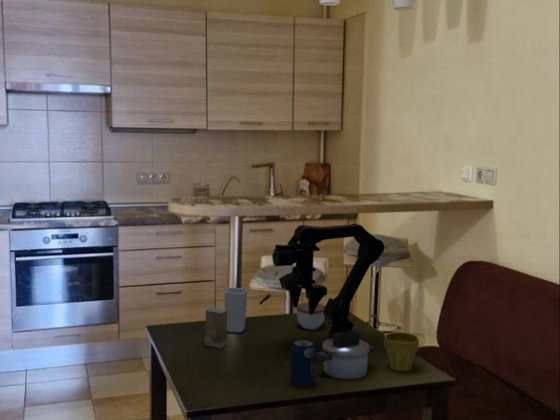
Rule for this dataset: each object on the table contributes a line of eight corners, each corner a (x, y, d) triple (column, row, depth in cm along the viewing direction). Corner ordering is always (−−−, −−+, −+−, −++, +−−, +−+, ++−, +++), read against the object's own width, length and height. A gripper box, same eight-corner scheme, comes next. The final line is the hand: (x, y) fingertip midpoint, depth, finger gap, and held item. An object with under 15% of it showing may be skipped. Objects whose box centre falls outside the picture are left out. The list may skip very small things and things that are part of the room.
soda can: (317, 386, 184) (318, 346, 183) (293, 388, 183) (294, 347, 181) (311, 377, 191) (312, 338, 190) (288, 378, 190) (289, 339, 188)
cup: (227, 327, 236) (228, 287, 234) (247, 328, 235) (247, 288, 233) (223, 333, 229) (223, 292, 227) (243, 334, 228) (244, 293, 226)
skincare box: (204, 345, 216) (204, 310, 214) (210, 341, 220) (210, 306, 218) (221, 348, 213) (221, 312, 212) (227, 344, 217) (227, 309, 216)
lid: (351, 338, 205) (352, 323, 205) (378, 352, 193) (379, 337, 193) (313, 344, 199) (314, 329, 198) (339, 359, 187) (339, 343, 186)
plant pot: (397, 376, 194) (398, 344, 192) (376, 364, 203) (378, 334, 201) (424, 370, 198) (426, 340, 197) (403, 359, 207) (404, 330, 206)
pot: (358, 359, 207) (359, 337, 206) (383, 373, 196) (384, 350, 195) (307, 368, 198) (308, 346, 197) (330, 383, 187) (331, 360, 186)
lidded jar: (330, 327, 239) (331, 302, 238) (312, 333, 231) (313, 308, 230) (308, 320, 246) (308, 296, 245) (289, 326, 238) (290, 302, 237)
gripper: (268, 261, 214) (267, 307, 216) (299, 272, 199) (298, 322, 201) (296, 258, 220) (295, 302, 222) (329, 269, 204) (327, 317, 207)
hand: (303, 311), depth 213 cm, fingers open, 9 cm apart
